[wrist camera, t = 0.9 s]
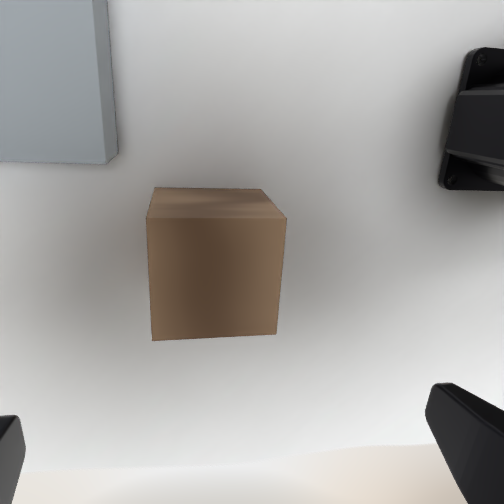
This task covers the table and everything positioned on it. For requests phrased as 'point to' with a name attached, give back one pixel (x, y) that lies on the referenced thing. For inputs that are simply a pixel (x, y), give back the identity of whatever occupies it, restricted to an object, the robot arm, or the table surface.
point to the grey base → (56, 82)
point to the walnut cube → (214, 263)
